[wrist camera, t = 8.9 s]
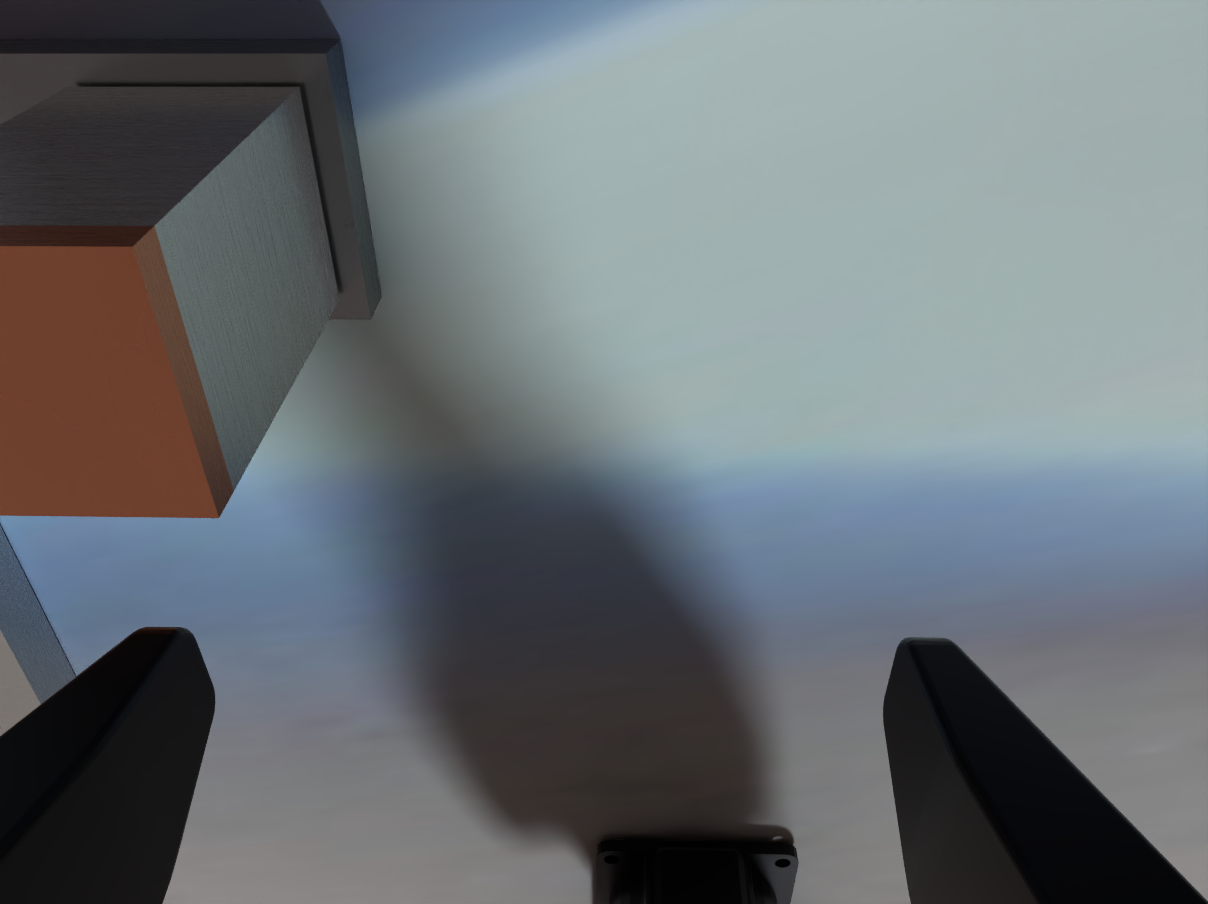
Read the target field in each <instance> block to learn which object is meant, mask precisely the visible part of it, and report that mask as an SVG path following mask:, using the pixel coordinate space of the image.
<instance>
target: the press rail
mask: <svg viewBox="0 0 1208 904" xmlns="http://www.w3.org/2000/svg"><path fill="white" fill-rule="evenodd" d="M66 87H300V92H301V98H302V103H303V108H304V113H305V119H306V124H307V129H308V135H309V140H310V145H311V151H312V156H313V161H314V167H315V172H316V177H317V183H318V188H319V193H320V198H321V204H322V209H323V214H324V220H325V225H326V230H327V236H328V241H329V246H330V252H331V257H332V262H333V268H334V273H335V278H336V283H337V289H338V294H339V299H340V300H339V302H338V304H337V305H336V307H335V309H334V311H333V313H332V314H331V316H330V318H329V319H371V318H372V316H373V314H374V311H375V309H376V307H377V305H378V303H379V301H380V299H381V297H382V296H381V289H380V283H379V277H378V271H377V264H376V258H375V252H374V245H373V239H372V233H371V227H370V220H369V214H368V208H367V201H366V195H365V189H364V183H363V176H362V170H361V164H360V157H359V151H358V145H357V138H356V132H355V126H354V120H353V113H352V107H351V101H350V94H349V88H348V82H347V76H346V69H345V63H344V57H343V50H342V44H341V40H0V125H1V124H2V123H4V122H6V121H8V120H9V119H11V118H13V117H15V116H16V115H18V114H20V113H22V112H24V111H25V110H27V109H29V108H31V107H32V106H34V105H36V104H38V103H39V102H41V101H43V100H45V99H46V98H48V97H50V96H52V95H54V94H55V93H57V92H59V91H61V90H62V89H64V88H66Z"/></svg>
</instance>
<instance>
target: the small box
mask: <svg viewBox="0 0 1208 904" xmlns="http://www.w3.org/2000/svg"><path fill="white" fill-rule="evenodd" d="M339 300H340V299H339V294H338V289H337V283H336V278H335V273H334V268H333V262H332V257H331V252H330V246H329V241H328V236H327V230H326V225H325V220H324V214H323V209H322V204H321V198H320V193H319V188H318V183H317V177H316V172H315V167H314V161H313V156H312V151H311V145H310V140H309V135H308V129H307V124H306V119H305V113H304V108H303V103H302V98H301V92H300V87H66V88H64V89H62V90H61V91H59V92H57V93H55V94H54V95H52V96H50V97H48V98H46V99H45V100H43V101H41V102H39V103H38V104H36V105H34V106H32V107H31V108H29V109H27V110H25V111H24V112H22V113H20V114H18V115H16V116H15V117H13V118H11V119H9V120H8V121H6V122H4V123H2V124H1V125H0V515H12V516H94V517H176V518H219V517H220V515H221V514H222V512H223V510H224V508H225V506H226V504H227V503H228V501H229V499H230V497H231V495H232V494H233V492H234V490H235V488H236V486H237V485H238V483H239V481H240V479H241V477H242V476H243V474H244V472H245V470H246V468H247V466H248V465H249V463H250V461H251V459H252V457H253V456H254V454H255V452H256V450H257V448H258V447H259V445H260V443H261V441H262V439H263V438H264V436H265V434H266V432H267V430H268V428H269V427H270V425H271V423H272V421H273V419H274V418H275V416H276V414H277V412H278V410H279V409H280V407H281V405H282V403H283V401H284V400H285V398H286V396H287V394H288V392H289V390H290V389H291V387H292V385H293V383H294V381H295V380H296V378H297V376H298V374H299V372H300V371H301V369H302V367H303V365H304V363H305V362H306V360H307V358H308V356H309V354H310V352H311V351H312V349H313V347H314V345H315V343H316V342H317V340H318V338H319V336H320V334H321V333H322V331H323V329H324V327H325V325H326V324H327V322H328V320H329V318H330V316H331V314H332V313H333V311H334V309H335V307H336V305H337V304H338V302H339Z"/></svg>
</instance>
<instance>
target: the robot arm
mask: <svg viewBox="0 0 1208 904" xmlns="http://www.w3.org/2000/svg"><path fill="white" fill-rule="evenodd" d="M214 711H215V691H214V687H213V684H212V681H211V678H210V676H209V673H208V670H207V668H206V665H205V663H204V660H203V657H202V655H201V652H200V649H199V647H198V644H197V641H196V639H195V637H194V635H193V634H192V633H191V632H190V631H189V630H188V629H186V628H182V627H145V628H141V629H139V630H137V631H135V632H133V633H132V634H130V635H129V636H128V637H126V638H125V639H124V640H123V641H121V642H120V643H119V644H117V645H116V646H115V647H114V648H112V649H111V650H110V651H108V652H107V653H106V654H105V655H103V656H102V657H101V658H99V659H98V660H97V661H96V662H94V663H93V664H92V665H91V666H89V667H88V668H87V669H85V670H84V671H83V672H82V673H80V674H79V675H78V676H76V677H75V678H74V679H73V680H71V681H70V682H69V683H68V684H66V685H65V686H64V687H62V688H61V689H60V690H59V691H57V692H56V693H55V694H53V695H52V696H51V697H50V698H48V699H47V700H46V701H44V702H43V703H42V704H41V705H39V706H38V707H37V708H36V709H34V710H33V711H32V712H30V713H29V714H28V715H27V716H25V717H24V718H23V719H21V720H20V721H19V722H18V723H16V724H15V725H14V726H13V727H11V728H10V729H9V730H7V731H6V732H5V733H4V734H2V735H1V736H0V904H162V903H163V900H164V897H165V894H166V892H167V889H168V886H169V883H170V880H171V877H172V873H173V870H174V866H175V863H176V859H177V856H178V852H179V848H180V845H181V841H182V837H183V833H184V829H185V825H186V821H187V817H188V813H189V810H190V806H191V802H192V798H193V794H194V790H195V786H196V782H197V779H198V775H199V771H200V767H201V763H202V759H203V755H204V751H205V747H206V744H207V740H208V736H209V732H210V728H211V724H212V720H213V716H214ZM883 722H884V730H885V737H886V744H887V751H888V758H889V764H890V771H891V778H892V785H893V792H894V798H895V805H896V812H897V819H898V826H899V832H900V839H901V846H902V853H903V860H904V866H905V872H906V878H907V885H908V891H909V896H910V900H911V904H1208V901H1207V900H1206V899H1205V898H1204V897H1203V896H1202V895H1201V894H1200V893H1199V892H1198V891H1197V890H1196V889H1195V888H1194V887H1193V886H1192V885H1191V884H1190V883H1189V882H1188V881H1187V880H1186V879H1185V878H1184V877H1183V876H1182V875H1181V874H1180V873H1179V872H1178V871H1177V869H1176V868H1175V867H1174V866H1173V865H1172V864H1171V863H1170V862H1169V861H1168V860H1167V859H1166V858H1165V857H1164V856H1163V855H1162V854H1161V853H1160V852H1159V851H1158V850H1157V849H1156V848H1155V847H1154V846H1153V845H1152V844H1151V843H1150V842H1149V841H1148V840H1147V839H1146V838H1145V837H1144V836H1143V835H1142V834H1141V833H1140V832H1139V831H1138V830H1137V829H1136V828H1135V826H1134V825H1133V824H1132V823H1131V822H1130V821H1129V820H1128V819H1127V818H1126V817H1125V816H1124V815H1123V814H1122V813H1121V812H1120V811H1119V810H1118V809H1117V808H1116V807H1115V806H1114V805H1113V804H1112V803H1111V802H1110V801H1109V800H1108V799H1107V798H1106V797H1105V796H1104V795H1103V794H1102V793H1101V792H1100V791H1099V790H1098V789H1097V788H1096V787H1095V786H1094V785H1093V783H1092V782H1091V781H1090V780H1089V779H1088V778H1087V777H1086V776H1085V775H1084V774H1083V773H1082V772H1081V771H1080V770H1079V769H1078V768H1077V767H1076V766H1075V765H1074V764H1073V763H1072V762H1071V761H1070V760H1069V759H1068V758H1067V757H1066V756H1065V755H1064V754H1063V753H1062V752H1061V751H1060V750H1059V749H1058V748H1057V747H1056V746H1055V745H1054V744H1053V743H1052V742H1051V740H1050V739H1049V738H1048V737H1047V736H1046V735H1045V734H1044V733H1043V732H1042V731H1041V730H1040V729H1039V728H1038V727H1037V726H1036V725H1035V724H1034V723H1033V722H1032V721H1031V720H1030V719H1029V718H1028V717H1027V716H1026V715H1025V714H1024V713H1023V712H1022V711H1021V710H1020V709H1019V708H1018V707H1017V706H1016V705H1015V704H1014V703H1013V702H1012V701H1011V700H1010V699H1009V697H1008V696H1007V695H1006V694H1005V693H1004V692H1003V691H1002V690H1001V689H1000V688H999V687H998V686H997V685H996V684H995V683H994V682H993V681H992V680H991V679H990V678H989V677H988V676H987V675H986V674H985V673H984V672H983V671H982V670H981V669H980V668H979V667H978V666H977V665H976V664H975V663H974V662H973V661H972V660H971V659H970V658H969V657H968V656H967V655H966V653H965V652H964V651H963V650H962V649H961V648H960V647H959V646H958V645H956V644H955V643H954V642H952V641H951V640H949V639H946V638H921V637H908V638H905V639H903V640H902V641H901V642H900V643H899V645H898V647H897V650H896V654H895V658H894V662H893V666H892V669H891V673H890V677H889V681H888V685H887V689H886V693H885V698H884V705H883ZM596 868H597V904H790V902H791V897H792V892H793V887H794V883H795V878H796V873H797V868H798V858H797V851H796V848H795V847H794V846H793V845H790V844H786V843H758V842H710V841H662V840H613V839H612V840H605V841H602V842H600V843H599V844H598V846H597V855H596Z"/></svg>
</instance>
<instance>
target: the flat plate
mask: <svg viewBox="0 0 1208 904" xmlns="http://www.w3.org/2000/svg"><path fill="white" fill-rule="evenodd" d="M74 678H75V675H74V673H73V671H72V669H71V667H70V665H69V662H68V660H67V658H66V656H65V654H64V652H63V650H62V648H61V646H60V644H59V642H58V640H57V638H56V636H55V634H54V632H53V630H52V628H51V626H50V624H49V622H48V620H47V618H46V616H45V614H44V612H43V610H42V608H41V606H40V604H39V602H38V600H37V598H36V596H35V594H34V592H33V590H32V588H31V586H30V584H29V582H28V580H27V578H26V576H25V574H24V572H23V570H22V568H21V566H20V564H19V562H18V560H17V558H16V556H15V554H14V552H13V550H12V548H11V546H10V544H9V542H8V540H7V538H6V536H5V534H4V532H3V530H2V528H1V526H0V736H1V735H2V734H4V733H5V732H6V731H7V730H9V729H10V728H11V727H13V726H14V725H15V724H16V723H18V722H19V721H20V720H21V719H23V718H24V717H25V716H27V715H28V714H29V713H30V712H32V711H33V710H34V709H36V708H37V707H38V706H39V705H41V704H42V703H43V702H44V701H46V700H47V699H48V698H50V697H51V696H52V695H53V694H55V693H56V692H57V691H59V690H60V689H61V688H62V687H64V686H65V685H66V684H68V683H69V682H70V681H71V680H73V679H74Z"/></svg>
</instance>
